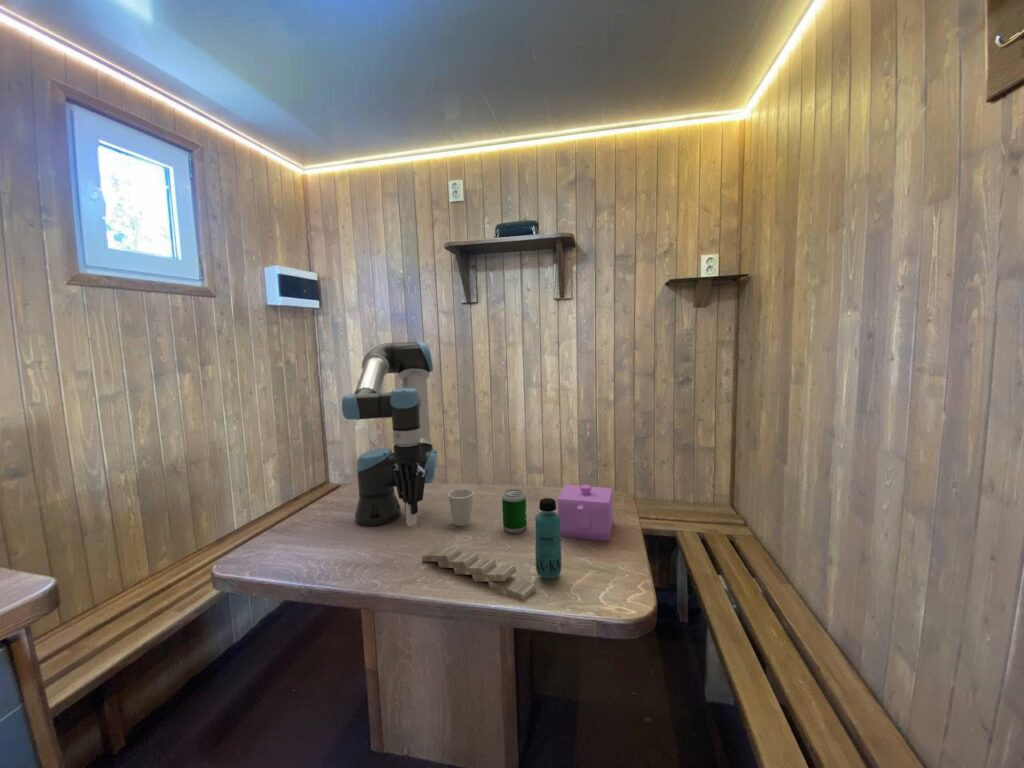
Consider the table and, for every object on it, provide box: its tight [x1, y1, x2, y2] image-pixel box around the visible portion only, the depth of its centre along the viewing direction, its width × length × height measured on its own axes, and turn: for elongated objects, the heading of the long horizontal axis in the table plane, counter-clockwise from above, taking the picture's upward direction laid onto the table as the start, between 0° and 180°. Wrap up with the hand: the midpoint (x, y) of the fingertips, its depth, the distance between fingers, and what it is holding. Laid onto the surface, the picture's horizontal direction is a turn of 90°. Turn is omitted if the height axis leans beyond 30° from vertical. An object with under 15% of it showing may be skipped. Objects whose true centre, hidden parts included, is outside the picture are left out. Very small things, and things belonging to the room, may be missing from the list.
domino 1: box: [421, 547, 462, 562], centre depth 115 cm, size 2×5×10 cm
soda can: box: [501, 488, 528, 534], centre depth 133 cm, size 8×8×12 cm
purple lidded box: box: [557, 484, 614, 542], centre depth 130 cm, size 15×25×14 cm, turn 162°
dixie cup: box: [447, 488, 474, 527], centre depth 139 cm, size 8×8×10 cm
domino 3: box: [453, 558, 497, 576], centre depth 108 cm, size 2×5×10 cm
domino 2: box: [437, 552, 480, 569], centre depth 111 cm, size 2×5×10 cm
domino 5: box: [488, 575, 536, 602], centre depth 101 cm, size 2×5×10 cm
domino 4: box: [471, 564, 517, 582], centre depth 104 cm, size 2×5×10 cm
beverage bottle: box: [534, 497, 563, 579], centre depth 105 cm, size 6×7×20 cm
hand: (412, 523), depth 121 cm, fingers closed
